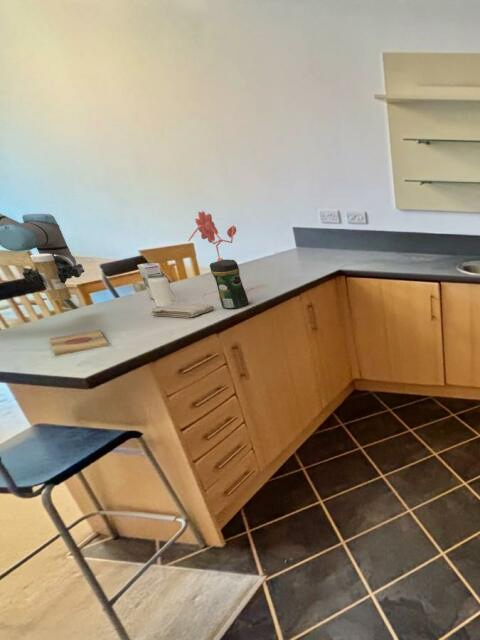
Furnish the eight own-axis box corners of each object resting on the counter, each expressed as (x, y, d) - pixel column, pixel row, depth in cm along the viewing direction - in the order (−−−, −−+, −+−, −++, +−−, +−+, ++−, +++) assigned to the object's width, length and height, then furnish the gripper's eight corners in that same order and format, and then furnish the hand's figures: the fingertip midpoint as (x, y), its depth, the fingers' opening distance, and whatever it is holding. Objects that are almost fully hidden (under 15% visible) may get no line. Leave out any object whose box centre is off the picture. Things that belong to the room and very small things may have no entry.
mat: (50, 340, 134) (49, 338, 133) (100, 331, 142) (98, 329, 141) (55, 355, 123) (54, 353, 123) (108, 345, 131) (107, 342, 131)
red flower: (256, 288, 199) (236, 209, 183) (224, 302, 176) (198, 214, 160) (224, 287, 198) (200, 208, 183) (188, 302, 175) (157, 213, 159)
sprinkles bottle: (70, 299, 128) (49, 255, 122) (50, 302, 125) (27, 256, 119) (73, 296, 131) (52, 252, 125) (53, 298, 129) (31, 254, 123)
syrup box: (171, 297, 181) (159, 263, 175) (155, 300, 177) (142, 266, 170) (165, 295, 184) (153, 262, 177) (149, 298, 179) (136, 264, 173)
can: (176, 302, 175) (165, 273, 169) (177, 306, 170) (166, 276, 165) (156, 305, 171) (145, 275, 166) (157, 308, 167) (146, 278, 161)
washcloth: (175, 307, 168) (172, 300, 167) (216, 309, 166) (214, 302, 165) (149, 316, 157) (146, 308, 156) (193, 318, 156) (190, 310, 154)
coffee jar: (235, 302, 176) (222, 257, 168) (252, 303, 175) (240, 258, 167) (218, 309, 167) (203, 262, 159) (236, 310, 167) (222, 263, 158)
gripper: (97, 275, 144) (94, 288, 128) (24, 281, 134) (12, 296, 118) (87, 252, 141) (84, 263, 125) (12, 258, 131) (-2, 270, 115)
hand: (49, 279), depth 122 cm, fingers closed on sprinkles bottle, 4 cm apart
